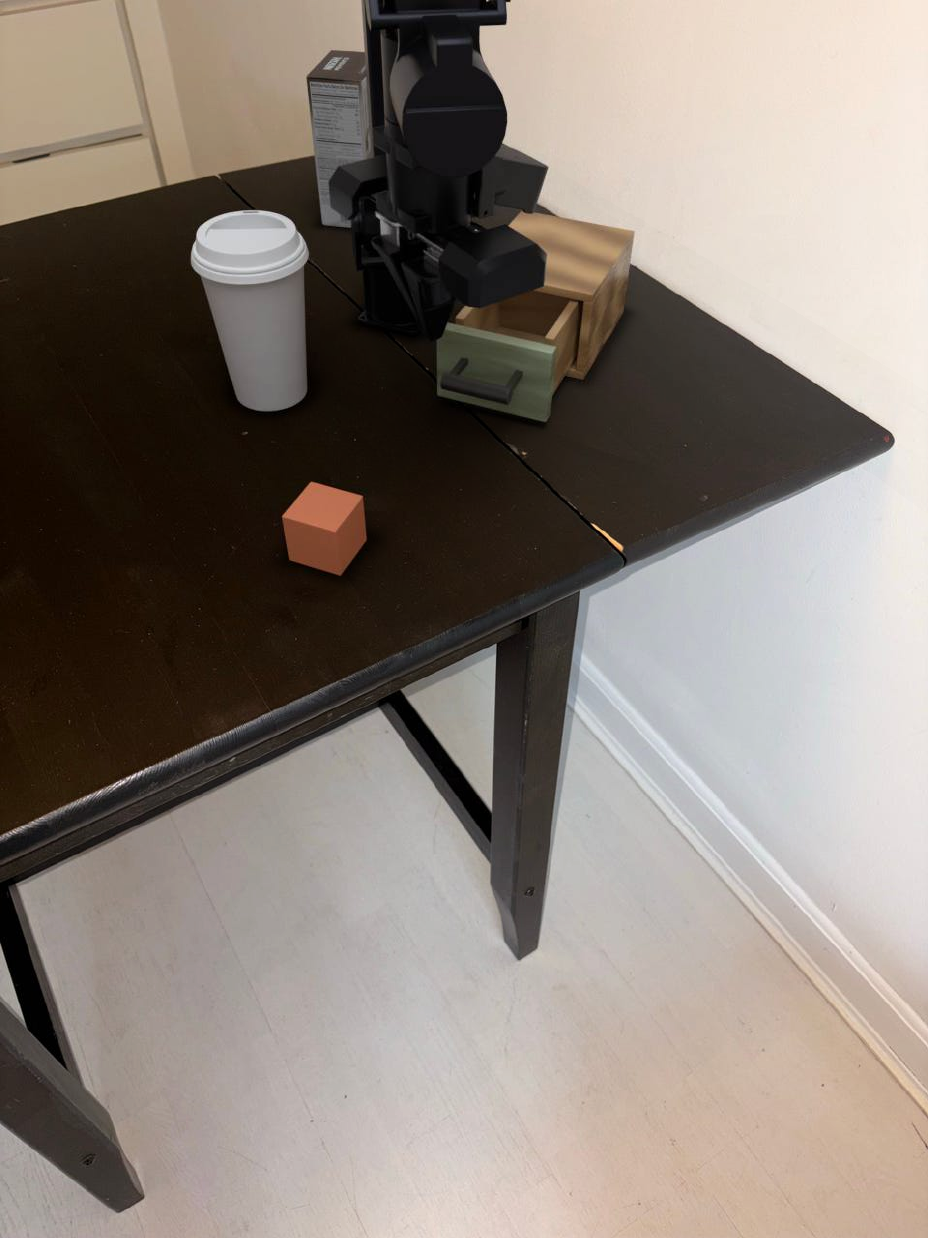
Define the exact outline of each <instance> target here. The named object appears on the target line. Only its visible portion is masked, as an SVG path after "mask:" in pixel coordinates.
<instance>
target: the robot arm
mask: <svg viewBox="0 0 928 1238" xmlns="http://www.w3.org/2000/svg"><path fill="white" fill-rule="evenodd" d="M360 1H361V15H362V16H361V17H362V28H363V29H362V30H363V31H362V33H363V49H364V52H365V64H366V80H367V95H368V111H369V126H370V142H371V151H370V153H369V155H368V157H367V159H365V160H361V161H357V162H353V163H349V164H345V165H341V166H338V167H337V169H336V171H335V172H334V174H333V175H332V177H331V179H330V180H329V182H328V184H329V195H330V205H331V208H332V209H334V210H335V211H336V212H338V213H339V214H340V215H342V216H343V217H345V218H346V219H347V220H350V219H351V228H350V234H351V244H352V245H351V247H352V253H353V258H354V264H355V269H356V272H359V271H361V272H362V281H363V282H362V283H363V297H364V308H365V309H364V311H363V312H362V313H361V314H360V315H359V316H357V320H358V321H357V322H358V324H360V325H364V326H369V327H373V328H378V329H382V330H386V331H391V332H395V333H399V334H404V335H407V336H417V335H418V334H419V333H420V332H421V333H422V334H423V336H424V338H425V339H427V340H428V341H429V342H434V341H437V339H440V338H441V337H442V336H443V333H444V331H445V328H446V325H447V323H449V320H450V317H451V314H452V313H453V309H454V306H455V304H456V301H457V300H458V301H459V302H460V303H462V304H463V305H464V306H465V305H466V306H467V307H473V308H482V307H485V306H488V305H491V304H494V303H497V302H500V301H503V300H505V299H508V298H511V297H514V296H517V295H520V294H523V293H526V292H529V291H532V290H535V289H538V288H541V287H544V283H545V276H546V262H547V253H546V252H545V251H544V250H543V249H542V248H541V247H540V246H539V245H538V244H537V243H535V242H534V241H532V240H530V239H529V238H527V237H525V236H524V235H522V234H521V233H519V232H517V231H516V230H514V229H512V228H511V227H509V225H507V224H506V223H505V224H501V225H498V226H495V227H491V228H488V229H487V228H486V227H484V226H482V225H481V224H479V223H478V222H476V221H474V220H472V219H473V218H477V219H479V220H482V219H486V218H488V217H492V216H495V206H499V207H505V208H511V209H515V210H521V211H523V212H524V213H528V214H533V213H534V212H535V211H536V208H537V205H538V201H539V199H540V195H541V193H542V189H543V186H544V183H545V180H546V178H547V174H548V171H549V166H548V165H547V164H545V163H543V162H541V161H540V160H537V159H536V158H533V157H532V156H530V155H529V154H527V153H524V151H523V152H522V151H521V150H518V149H516V148H514V147H511V146H509V145H507V144H505V143H503V142H504V140H505V137H506V133H507V127H508V110H507V106H506V102H505V100H504V95H503V93H502V91H501V89H500V88H499V86H498V84H497V82H496V80H495V79H494V77H493V75H492V73H491V71H490V69H489V68H488V66H487V64H486V62H485V60H484V57H483V55H482V51H481V42H480V40H481V39H480V38H481V37H480V35H481V34H480V33H481V27H492V26H506V25H507V23H508V12H507V10H508V9H507V3H511V1H512V0H360Z"/></svg>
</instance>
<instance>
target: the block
mask: <svg viewBox="0 0 928 1238" xmlns="http://www.w3.org/2000/svg"><path fill="white" fill-rule="evenodd" d="M282 514H283V515H282V517H281V519H282V525H283V530H284V537H285V542H286V549H287V554H288V560H289V561H291V562H294V563H297V564H301V565H304V566H307V567H311V568H314V569H316V570H320V571H324V572H327V573H329V574H333V575H336V576H339V577H341V576H342V575H343V573H344V572H345V571H346V569H347V568H348V566H349V565H350V564H351V562H352V561H353V559H354V558H355V557H356V555H357V554H358V553H359V551H360V550H361V549H362V548H363V545H364V544H365V543H366V542H367V540H368V538H367V528H366V527H367V526H366V517H365V516H366V515H365V505H364V496H363V495H360V494H357V493H353V492H350V491H346V490H342V489H339V488H335V487H332V486H329V485H325V484H322V483H317V482H314V481H310V482H309V483H308V485H307V486H306V487H305V488H304V489H303V491H302V492H301V493H300V494H299V495H298V497H297V498H296V499H295V500H294V501H293V502H292V504H291V505H290V506H289V507H288V508H287V509H286V511H285V512H284V513H282Z"/></svg>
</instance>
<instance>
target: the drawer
mask: <svg viewBox="0 0 928 1238" xmlns="http://www.w3.org/2000/svg"><path fill="white" fill-rule="evenodd" d="M583 302H584V301H580V300H576V299H571V298H566V297H561V296H557V295H552V294H547V293H542V292H537V291H533V290H532V291H529V292H526V293H523V294H520V295H517V296H514V297H511V298H508V299H505V300H503V301H500V302H497V303H494V304H491V305H488V306H485V307H482V308H473V307H467V306H466V305H464V307H463V308H462V309H461V310H460V311H459V313H458V314H457V315H456V316H455V323H452V322H448V323H447V325H446V328H445V331H444V333H443V336H442V337H441V338H440V339H437V340H436V395H437V396H438V397H442V398H445V399H450V400H453V401H457V402H462V403H465V404H470V405H474V406H478V407H483V408H487V409H490V410H493V411H494V410H495V411H499V412H503V413H507V414H511V415H515V416H519V417H523V418H527V419H531V420H534V421H538V422H542V423H547V421H548V420H549V418H550V416H551V411H552V402H553V401H552V399H553V395H554V394H555V392H556V391H557V389H558V387H559V385H560V384H561V383H562V381H563V379H564V377H566V376H565V374H566V373H567V371H568V370H569V368H570V366H571V365H572V363H573V362H574V360H575V358H576V357H577V355H578V348H579V338H580V329H581V320H582V311H583Z"/></svg>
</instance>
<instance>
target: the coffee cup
mask: <svg viewBox="0 0 928 1238" xmlns="http://www.w3.org/2000/svg"><path fill="white" fill-rule="evenodd" d="M195 236H196V237H195V241H194V242H193V244H192V248H191V252H190V265H191V267H192V269H193V270H194V271H195V272H196V273H197V274H198V275H199V276H200V279H201V282H202V286H203V288H204V291H205V295H206V298H207V301H208V306H209V309H210V312H211V315H212V318H213V322H214V325H215V329H216V332H217V335H218V340H219V342H220V345H221V350H222V352H223V355H224V356H223V357H224V360H225V363H226V366H227V369H228V373H229V376H230V377H229V378H230V380H231V383H232V387H233V390H234V394H235V396H236V399H237V401H238V402H239V403H240V404H241V405H242V406H244V407H245V408H248V409H250V410H254V411H258V412H277V411H281V410H286V409H289V408H292V407H293V406H295V405H297V404H299V403H300V402H301V401H302V400H303V399H304V398H305V397H306V395H307V392H308V373H307V371H308V369H307V340H306V338H307V337H306V307H305V304H306V303H305V265H306V263H307V261H308V260H309V258H310V257H309V256H310V251H309V248H308V245H307V242H306V241H305V239H304V237H303V236H302V234H301V233H300V232H299V231H298V230H297V227H296V225H295V223H294V222H293V221H292V219H290V218H288V217H287V216H286V215H285V216H284V215H283V214H280V213H276V212H273V211H268V210H260V209H259V210H258V209H252V210H251V209H249V210H237V211H230V212H226V213H223V214H219V215H217V216H214V217H212V218H210V219H208V220H207V221H205V222H203V224H201V225H200V226H199V228H198V229H197V231H196V235H195Z"/></svg>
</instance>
